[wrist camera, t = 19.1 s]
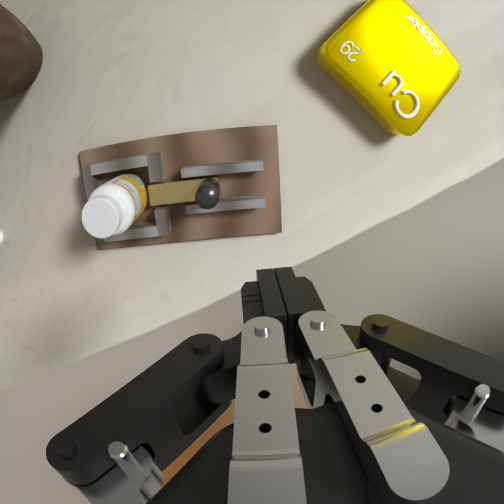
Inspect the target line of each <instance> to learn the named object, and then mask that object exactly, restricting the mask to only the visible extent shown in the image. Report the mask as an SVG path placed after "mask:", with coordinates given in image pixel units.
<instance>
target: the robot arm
mask: <svg viewBox="0 0 504 504" xmlns="http://www.w3.org/2000/svg"><path fill="white" fill-rule="evenodd" d="M256 273H257V281H254V282H245V284H244V285H243V287H242V288H241V295H242V308H243V320H244V325H243V327H242V331H241V332H240V333H239V334H238V335H237V336H235V337H233V338H231V339H228V340H225V341H221V340H220V339H219V338H218V337H216V336H215V335H211V334H197V335H194V336H191V337H189V338H187V339H186V340H185V341H183V342H182V343H181V344H179V345H178V346H177V347H175V348H174V349H173V350H171V351H170V352H169V353H167V354H166V355H165V356H164V357H162V358H161V359H160V360H158V361H157V362H156V363H154V364H153V365H152V366H150V367H149V368H148V369H146V370H145V371H144V372H142V373H141V374H140V375H138V376H137V377H136V378H134V379H133V380H131V381H130V382H129V383H127V384H126V385H125V386H123V387H122V388H121V389H119V390H118V391H117V392H115V393H114V394H112V395H111V396H110V397H108V398H107V399H106V400H104V401H103V402H102V403H100V404H99V405H97V406H96V407H95V408H93V409H92V410H90V411H89V412H88V413H86V414H85V415H83V416H82V417H81V418H79V419H78V420H76V421H75V422H74V423H72V424H71V425H69V426H68V427H67V428H65V429H64V430H62V431H61V432H59V433H58V434H57V435H55V436H54V437H53V438H52V439H51V440H50V442H49V443H48V445H47V448H46V456H47V460H48V462H49V463H50V465H51V466H52V467H53V468H54V469H55V470H56V471H58V473H60V474H61V475H62V476H63V478H64V479H65V480H66V482H68V483H69V484H70V485H71V486H72V487H73V488H74V489H76V490H77V491H78V492H79V493H80V494H81V495H83V496H84V497H85V498H87V499H88V500H89V501H90V503H91V504H504V362H503V361H500V360H497V359H495V358H492V357H490V356H487V355H485V354H482V353H480V352H477V351H475V350H472V349H470V348H467V347H465V346H462V345H460V344H457V343H454V342H452V341H449V340H447V339H444V338H442V337H439V336H437V335H434V334H432V333H429V332H426V331H424V330H422V329H419V328H417V327H414V326H412V325H409V324H407V323H404V322H401V321H399V320H397V319H394V318H392V317H389V316H386V315H381V314H374V315H370V316H367V317H366V318H364V319H363V320H362V322H361V326H351V325H343V324H340V323H339V321H338V320H337V318H336V317H335V316H334V315H333V314H331V313H329V312H326V310H325V308H324V306H323V304H322V302H321V300H320V298H319V296H318V294H317V292H316V290H315V287H314V286H313V283H312V282H311V281H310V280H308V279H307V278H306V277H295V274H294V272H293V270H292V267H283V268H274V269H262V270H256ZM287 359H288V362H287ZM391 359H394V360H397V361H399V362H402V363H403V364H406V365H408V366H410V367H412V368H414V369H416V370H418V371H419V373H420V374H421V380H418V379H415V378H413V377H411V376H409V375H406V374H405V373H402V372H400V371H398V370H396V369H394V368H392V367H389V366H390V362H391ZM292 363H296V365H297V380H298V383H299V386H300V388H301V391H302V394H303V397H304V399H305V402H306V405H307V408H308V409H302V408H295V407H294V398H293V390H292V382H291V374H290V366H289V364H292ZM232 399H236V400H235V415H234V423H233V424H231V425H228V426H227V427H225V428H223V429H221V430H220V431H218V432H217V433H216V434H215V435H214V436H212V437H211V438H210V439H209V440H208V441H207V442H206V443H205V445H203V447H202V448H201V449H200V450H199V451H198V452H197V453H196V454H195V455H194V456H193V457H192V458H191V459H190V460H189V461H188V462H187V464H185V466H184V467H183V468H182V469H181V470H180V471H179V472H178V473H177V474H176V475H175V476H174V477H173V478H172V479H171V480H170V481H169V482H168V483H167V484H166V485H165V486H163V488H162V485H163V475H162V471H163V470H164V469H165V468H166V467H167V466H169V465H170V464H171V463H172V462H173V461H174V460H175V459H176V458H177V457H178V456H179V455H181V454H182V453H183V451H185V450H186V449H187V448H188V447H189V446H190V445H191V444H192V443H193V442H194V441H195V440H196V439H197V438H198V437H199V436H200V435H201V434H202V433H203V432H204V431H205V430H206V429H208V428H209V427H210V425H212V424H213V422H215V420H216V419H217V418H218V417H219V416H220V415H221V414H222V413H223V412H224V411H225V410H226V409H227V408H228V407H229V406H230V404H231V401H232Z"/></svg>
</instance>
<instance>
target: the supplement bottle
mask: <svg viewBox="0 0 504 504" xmlns="http://www.w3.org/2000/svg"><path fill="white" fill-rule="evenodd" d="M148 201H149V193H148V187H147V185H146V183H145V182H144V181H143V180H142V179H141V178H140V177H139V176H137V175H134V174H122V175H120V176H117V177H116V178H114V179H112V180H110V181H108V182H106V183H105V184H103V185H101V186H99V187H98V188H96V189H95V190H94V191H93V192H92V193H91V195H90V197H89V199H88V202H87V203H86V204H85V205H84V207H83V210H82V215H81V218H82V223H83V226H84V228H85V229H86V231H87V232H88V233H89V234H91V235H92V236H94V237H96V238H107V237H110V236H111V235H118V234H121V233H123V232H124V231H126V230H127V229H128V228H129V227H130V226H131V225H132V223H133V222H134V221H135V220H136V219H137V218H138V217H139V216H140V214H141V213H142V212H143V211H144V210H145V208H146V207H147V205H148Z"/></svg>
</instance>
